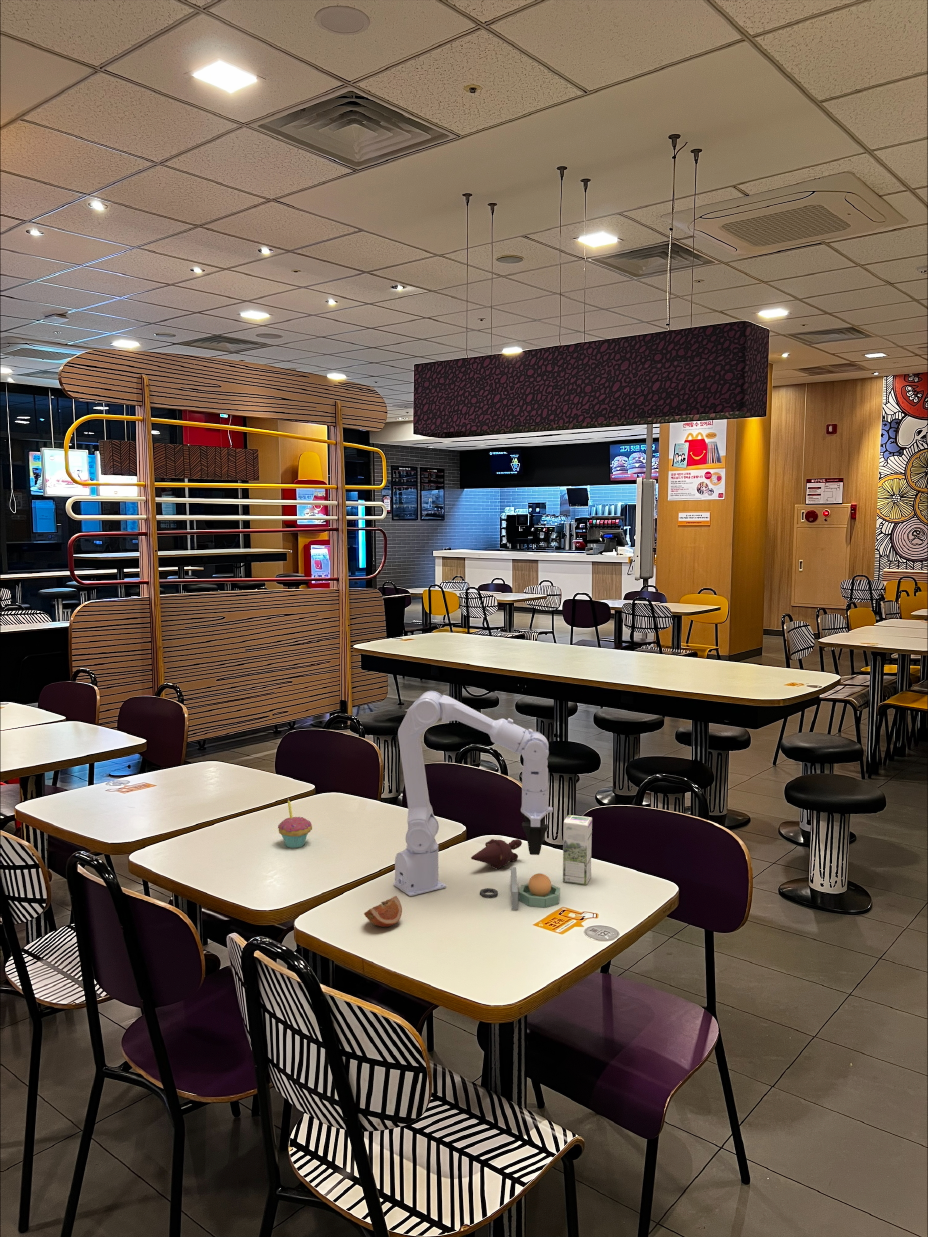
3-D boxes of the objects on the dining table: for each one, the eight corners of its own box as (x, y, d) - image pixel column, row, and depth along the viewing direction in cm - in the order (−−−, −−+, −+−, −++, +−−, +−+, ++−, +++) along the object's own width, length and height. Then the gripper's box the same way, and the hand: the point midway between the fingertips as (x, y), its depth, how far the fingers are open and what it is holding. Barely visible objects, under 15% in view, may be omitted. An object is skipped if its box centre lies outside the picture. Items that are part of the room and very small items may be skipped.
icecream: (484, 853, 203) (532, 845, 212) (465, 836, 209) (513, 829, 218) (477, 879, 205) (525, 870, 214) (459, 862, 210) (507, 854, 220)
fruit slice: (380, 937, 175) (380, 912, 174) (356, 927, 179) (355, 904, 178) (408, 922, 181) (408, 899, 181) (384, 914, 185) (384, 891, 185)
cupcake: (271, 847, 224) (271, 801, 223) (290, 837, 232) (289, 792, 231) (300, 852, 221) (300, 805, 220) (318, 841, 229) (318, 796, 228)
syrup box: (591, 876, 206) (592, 816, 204) (586, 886, 200) (587, 824, 199) (567, 873, 208) (568, 813, 206) (562, 883, 202) (562, 821, 201)
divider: (517, 910, 187) (517, 891, 187) (511, 910, 187) (511, 891, 187) (516, 884, 201) (516, 867, 201) (510, 884, 201) (510, 867, 201)
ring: (486, 899, 193) (486, 896, 193) (476, 893, 196) (476, 890, 196) (501, 895, 195) (501, 892, 195) (491, 889, 198) (491, 887, 198)
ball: (537, 903, 189) (537, 880, 189) (523, 894, 194) (524, 872, 193) (555, 898, 192) (556, 876, 191) (542, 889, 196) (542, 868, 196)
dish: (535, 910, 187) (535, 901, 187) (512, 896, 194) (512, 887, 194) (567, 901, 192) (567, 892, 191) (543, 888, 199) (543, 879, 199)
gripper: (554, 798, 188) (553, 860, 189) (551, 780, 202) (550, 837, 203) (521, 797, 188) (520, 859, 189) (520, 779, 203) (520, 836, 204)
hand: (534, 848), depth 196 cm, fingers open, 7 cm apart
